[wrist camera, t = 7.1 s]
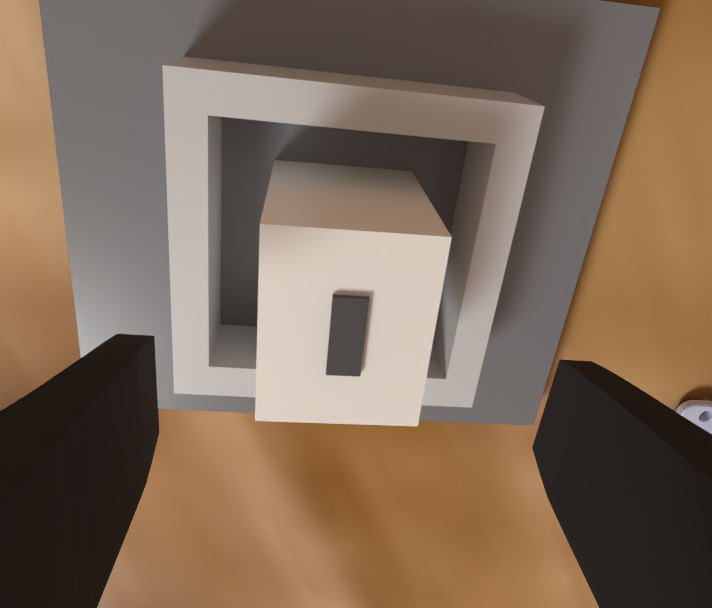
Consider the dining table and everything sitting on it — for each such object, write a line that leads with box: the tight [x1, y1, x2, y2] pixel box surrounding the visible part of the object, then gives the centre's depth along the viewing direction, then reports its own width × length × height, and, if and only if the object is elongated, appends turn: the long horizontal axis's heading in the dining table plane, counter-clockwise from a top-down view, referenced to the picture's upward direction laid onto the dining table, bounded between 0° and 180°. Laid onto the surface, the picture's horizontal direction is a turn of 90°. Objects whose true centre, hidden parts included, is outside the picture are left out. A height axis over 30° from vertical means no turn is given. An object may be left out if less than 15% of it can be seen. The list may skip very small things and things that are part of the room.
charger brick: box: [255, 160, 452, 426], centre depth 16 cm, size 4×5×6 cm
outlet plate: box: [39, 0, 660, 425], centre depth 17 cm, size 16×14×4 cm
